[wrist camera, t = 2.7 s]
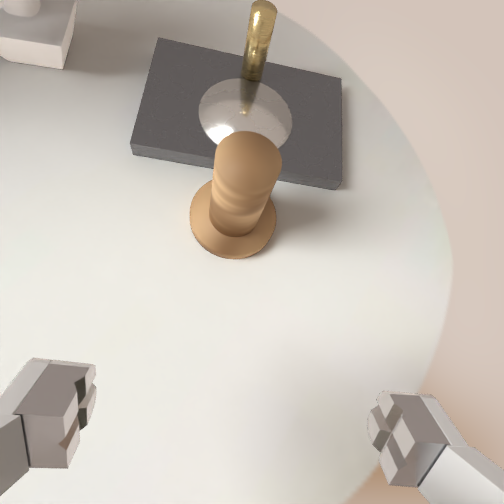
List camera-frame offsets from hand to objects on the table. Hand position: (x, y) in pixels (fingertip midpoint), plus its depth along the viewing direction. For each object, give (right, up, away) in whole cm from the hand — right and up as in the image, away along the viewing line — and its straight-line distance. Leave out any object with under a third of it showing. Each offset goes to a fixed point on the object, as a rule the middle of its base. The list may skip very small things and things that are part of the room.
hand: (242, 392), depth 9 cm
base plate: (0, +17, +21) cm, 27 cm away
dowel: (0, +21, +21) cm, 30 cm away
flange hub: (-1, +7, +18) cm, 19 cm away
